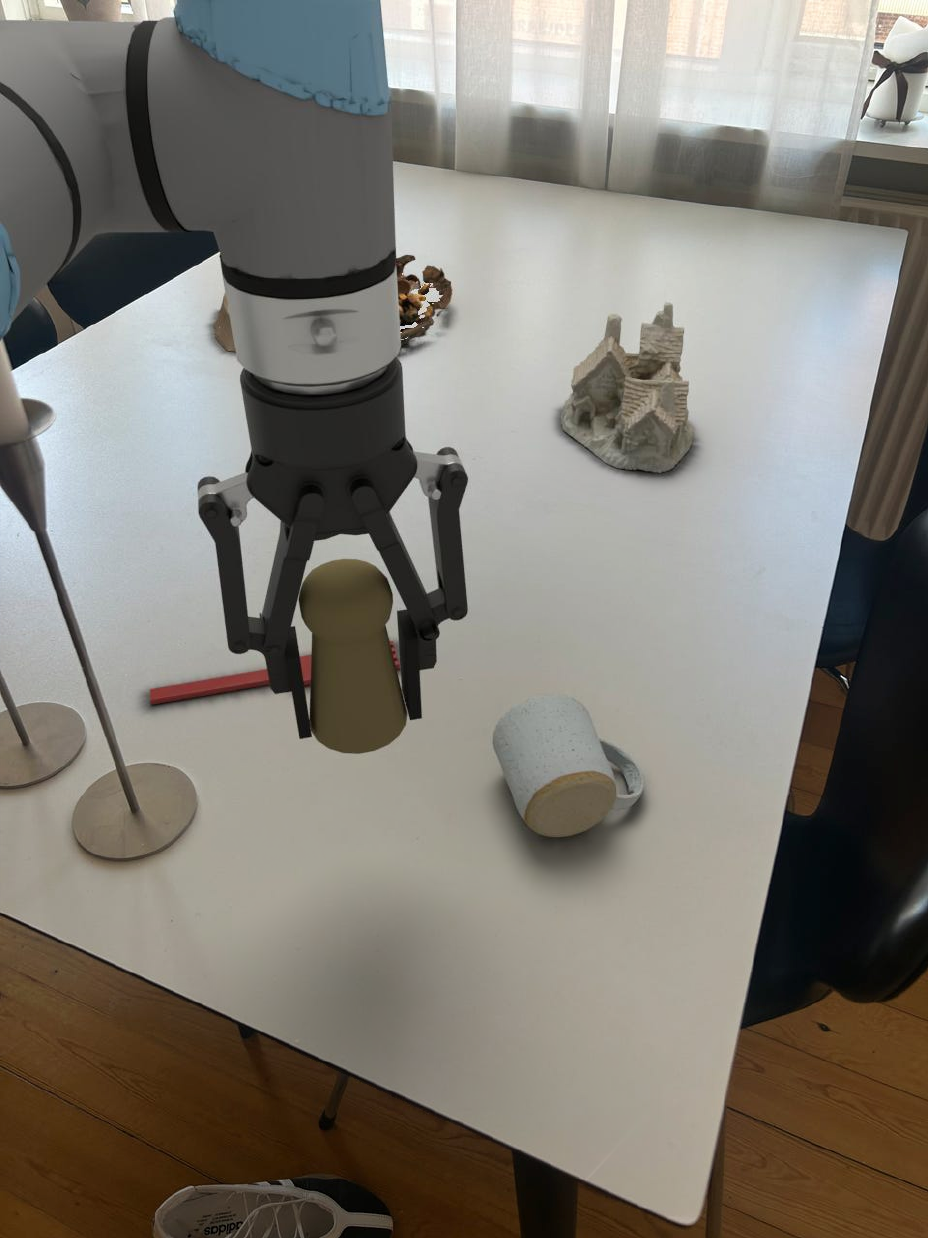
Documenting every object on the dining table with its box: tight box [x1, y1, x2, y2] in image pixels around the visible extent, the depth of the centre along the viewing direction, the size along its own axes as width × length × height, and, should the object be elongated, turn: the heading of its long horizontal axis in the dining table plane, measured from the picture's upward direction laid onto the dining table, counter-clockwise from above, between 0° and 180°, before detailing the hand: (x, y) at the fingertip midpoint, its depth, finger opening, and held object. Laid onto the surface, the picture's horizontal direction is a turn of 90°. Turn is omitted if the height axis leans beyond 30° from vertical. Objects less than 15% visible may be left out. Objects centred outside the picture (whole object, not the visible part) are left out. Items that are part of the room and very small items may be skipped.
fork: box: [149, 640, 401, 705], centre depth 83 cm, size 21×3×1 cm, turn 104°
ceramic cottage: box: [559, 301, 694, 474], centre depth 110 cm, size 16×16×15 cm
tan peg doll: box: [297, 558, 409, 755], centre depth 56 cm, size 6×6×11 cm
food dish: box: [212, 254, 453, 353], centre depth 140 cm, size 35×33×8 cm
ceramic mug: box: [492, 693, 645, 838], centre depth 70 cm, size 11×8×8 cm
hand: (358, 712), depth 59 cm, fingers closed on tan peg doll, 6 cm apart
